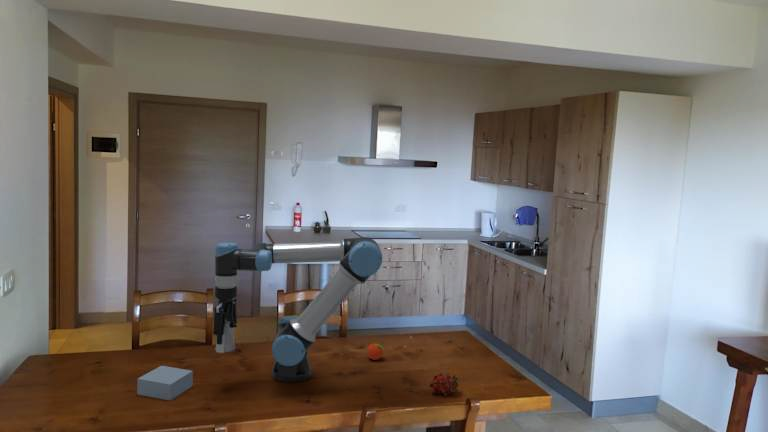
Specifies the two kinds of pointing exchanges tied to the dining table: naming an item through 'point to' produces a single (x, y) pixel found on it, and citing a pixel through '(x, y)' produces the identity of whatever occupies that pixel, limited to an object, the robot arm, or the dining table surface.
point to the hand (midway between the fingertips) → (225, 348)
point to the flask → (228, 339)
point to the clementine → (374, 351)
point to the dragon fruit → (444, 383)
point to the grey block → (165, 382)
